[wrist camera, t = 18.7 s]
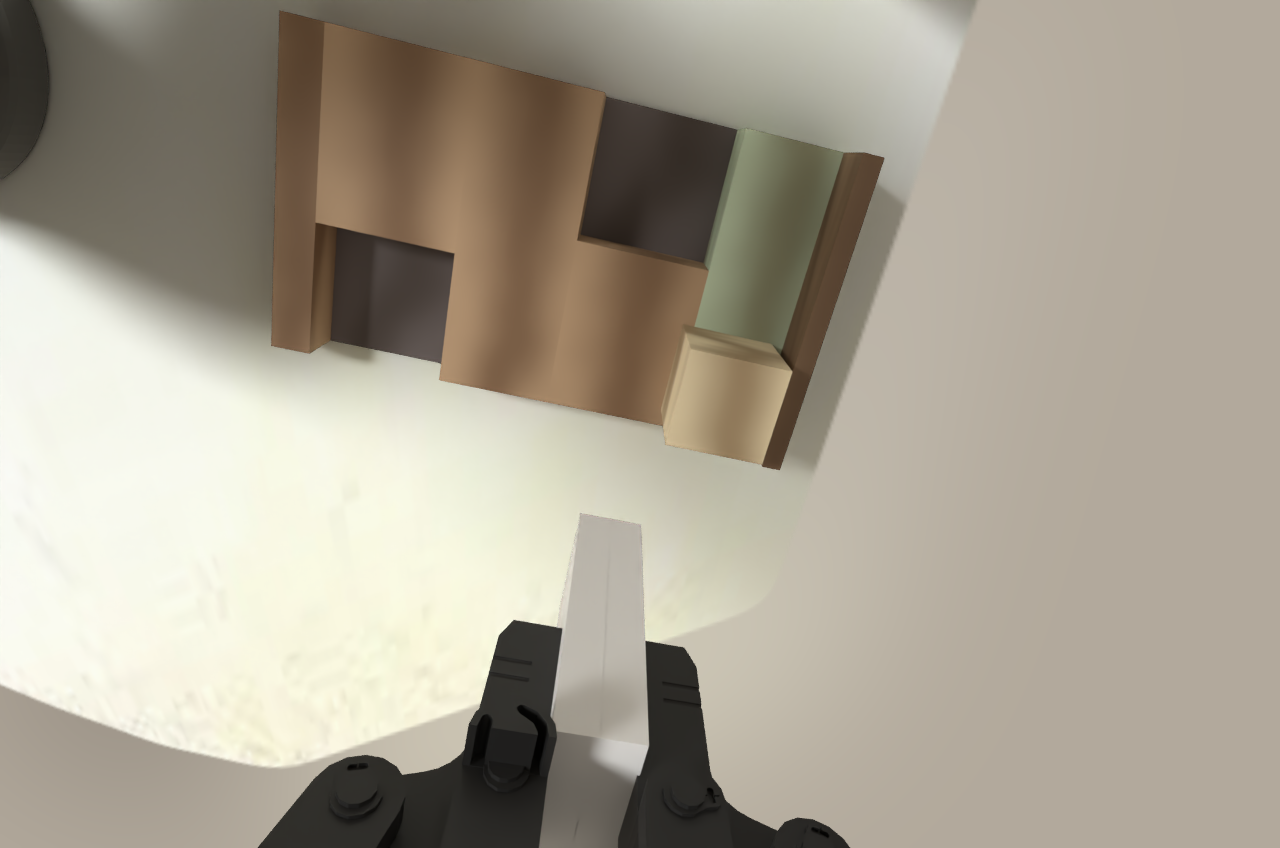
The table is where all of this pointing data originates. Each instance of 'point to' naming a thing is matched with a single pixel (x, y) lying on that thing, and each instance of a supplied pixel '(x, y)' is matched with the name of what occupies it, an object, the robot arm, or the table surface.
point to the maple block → (723, 394)
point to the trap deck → (542, 226)
